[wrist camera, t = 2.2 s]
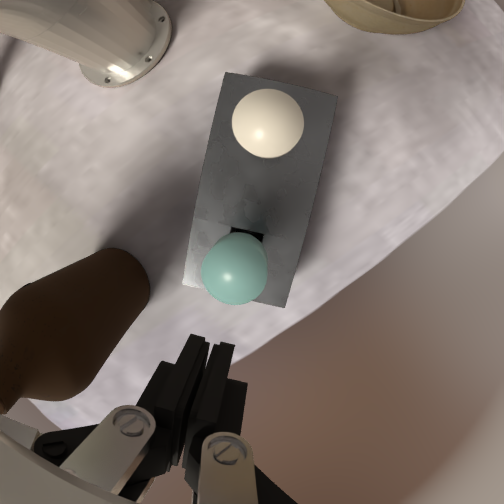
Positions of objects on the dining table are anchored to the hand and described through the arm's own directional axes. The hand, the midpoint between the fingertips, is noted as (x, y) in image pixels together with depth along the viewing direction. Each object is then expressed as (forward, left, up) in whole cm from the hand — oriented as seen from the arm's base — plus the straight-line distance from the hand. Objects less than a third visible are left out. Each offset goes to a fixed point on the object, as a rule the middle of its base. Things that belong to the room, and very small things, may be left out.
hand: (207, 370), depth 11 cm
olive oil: (+10, -15, -23) cm, 30 cm away
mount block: (-5, 0, -23) cm, 24 cm away
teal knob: (0, 0, -19) cm, 19 cm away
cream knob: (-10, 0, -19) cm, 22 cm away
